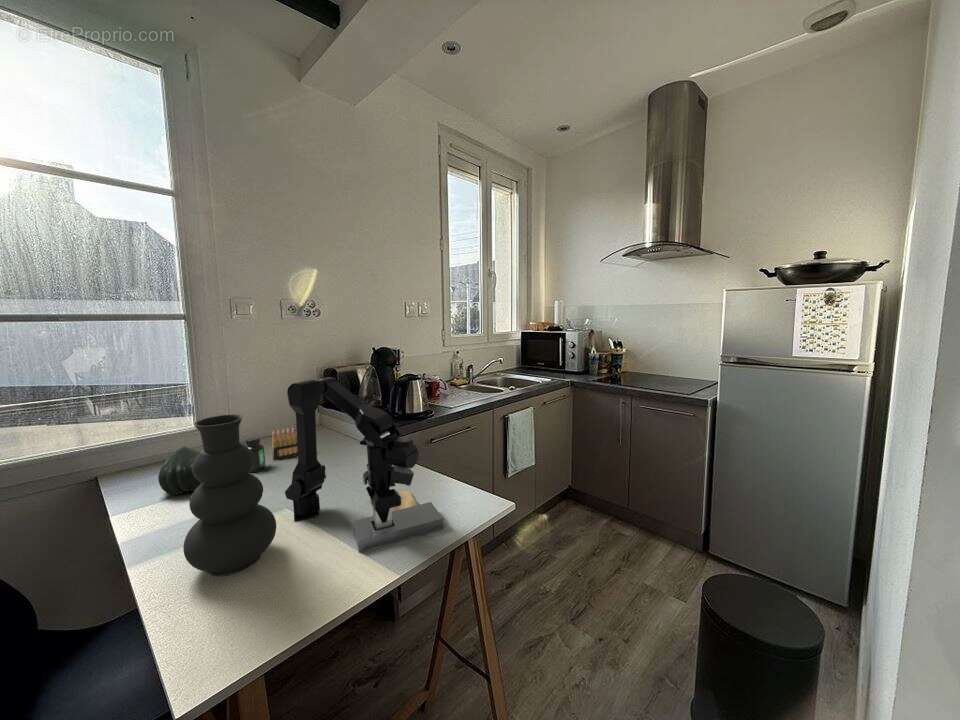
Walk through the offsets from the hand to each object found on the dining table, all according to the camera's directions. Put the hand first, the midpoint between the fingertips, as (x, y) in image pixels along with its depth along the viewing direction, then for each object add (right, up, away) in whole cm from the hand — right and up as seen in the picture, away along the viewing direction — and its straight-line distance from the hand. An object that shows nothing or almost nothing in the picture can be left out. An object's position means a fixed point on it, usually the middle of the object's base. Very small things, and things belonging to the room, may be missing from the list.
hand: (382, 518), depth 102 cm
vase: (-33, -7, -9) cm, 35 cm away
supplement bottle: (-59, 0, +44) cm, 74 cm away
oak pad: (0, -3, +15) cm, 15 cm away
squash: (-72, -2, +29) cm, 78 cm away
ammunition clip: (-53, +2, +56) cm, 77 cm away
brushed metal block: (0, -5, +1) cm, 5 cm away
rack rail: (+4, -4, +2) cm, 6 cm away
